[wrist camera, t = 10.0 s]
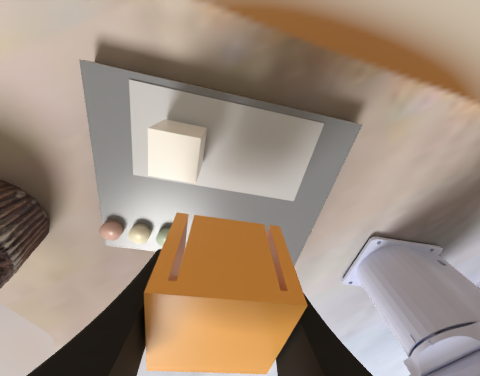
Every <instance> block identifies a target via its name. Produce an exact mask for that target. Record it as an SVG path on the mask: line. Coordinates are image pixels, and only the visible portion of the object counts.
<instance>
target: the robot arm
mask: <svg viewBox="0 0 480 376" xmlns="http://www.w3.org/2000/svg"><path fill="white" fill-rule="evenodd" d="M161 250H162V249H158V250H157V251H156V252H155V254H154V255H153V257H152V258H151V259H150V260H149V262H148V263H147V264H146V265H145V267H144V268H143V269H142V270H141V272H140V273H139V274H138V275H137V276H136V277H135V278H134V280H133V281H132V282H131V283H130V284H129V285H128V286H127V287H126V288H125V289H124V290H123V291H122V293H121V294H120V295H119V296H118V297H117V298H116V299H115V300H114V301H113V302H112V303H111V304H110V305H109V306H108V307H107V308H106V309H105V310H104V311H103V312H102V313H101V314H100V315H98V316H97V317H96V318H95V319H94V320H93V321H92V322H91V323H90V324H89V325H88V326H86V327H85V328H84V329H83V330H82V331H81V332H80V333H78V334H77V335H76V336H75V337H74V338H73V339H72V340H70V341H69V342H68V343H67V344H66V345H65V346H63V347H62V348H61V349H60V350H58V351H57V352H56V353H55V354H54V355H52V356H51V357H50V358H49V359H47V360H46V361H45V362H43V363H42V364H41V365H40V366H38V367H37V368H36V369H35V370H33V371H32V372H31V373H30V374H28V375H27V376H137V372H138V369H139V365H140V362H141V359H142V355H143V352H144V349H145V346H146V336H145V310H144V291H145V289H146V286H147V284H148V281H149V279H150V276H151V274H152V272H153V269H154V267H155V264H156V262H157V259H158V257H159V254H160V252H161ZM442 251H443V248H441V247H440V246H435V245H429V244H422V243H415V242H409V241H402V240H395V239H388V238H382V237H371V238H370V239H369V241H368V242H367V244H366V245H365V247H364V248H363V250H362V251H361V253H360V254H359V256H358V257H357V259H356V260H355V261H354V263H353V264H352V266H351V267H350V269H349V270H348V272H347V273H346V275H345V276H344V278H343V279H342V282H343V284H345V285H354V286H363V288H364V289H365V291H366V292H367V294H368V295H369V297H370V298H371V300H372V301H373V303H374V305H375V306H376V308H377V309H378V311H379V312H380V314H381V315H382V317H383V318H384V320H385V321H386V323H387V325H388V326H389V328H390V329H391V331H392V332H393V334H394V335H395V337H396V338H397V340H398V341H399V343H400V344H401V346H402V348H403V349H404V351H405V352H406V354H407V355H408V357H409V358H408V359H407V360H405V361H404V364H405V366H406V367H407V369H408V370H409V372H410V375H409V376H480V289H479V288H478V287H477V286H476V285H474V284H473V283H472V282H471V281H470V280H468V279H467V278H466V277H465V276H463V275H462V274H461V273H460V272H459V271H457V270H456V269H455V268H454V267H453V266H451V265H450V264H449V263H448V262H446V261H445V260H444V259H443V258H442V257H440V256H439V254H440V253H441V252H442ZM303 294H304V293H303ZM304 297H305V300H306V302H307V305H308V306H307V308H306V309H305V311H304V313H303V314H302V316H301V318H300V319H299V321H298V323H297V324H296V326H295V328H294V329H293V331H292V333H291V334H290V336H289V338H288V339H287V341H286V343H285V344H284V346H283V348H282V349H281V351H280V353H279V354H278V356H277V358H276V363H277V372H278V376H373V375H372V374H371V373H370V372H369V371H368V370H367V369H366V368H365V367H364V366H363V365H362V364H361V363H360V362H359V361H358V360H357V359H356V358H355V357H354V356H353V355H352V353H351V352H350V351H349V350H348V349H347V348H346V347H345V346H344V345H343V344H342V342H341V341H340V340H339V339H338V338H337V337H336V335H335V334H334V333H333V332H332V331H331V329H330V328H329V327H328V326H327V325H326V323H325V322H324V321H323V319H322V318H321V317H320V315H319V314H318V313H317V311H316V310H315V309H314V307H313V306H312V305H311V303H310V302H309V300H308V299H307V297H306V296H305V294H304Z"/></svg>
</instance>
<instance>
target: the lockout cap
mask: <svg viewBox="0 0 480 376" xmlns="http://www.w3.org/2000/svg"><path fill="white" fill-rule="evenodd" d="M188 215H189V214H185V213H178V212H177V213H176V216H175V218H174V220H173V223H172V225H171V228H170V230H169V233H168V235H167V237H166V240H165V242H164V245H163V247H162V250H161V252H160V254H159V257H158V259H157V262H156V264H155V267H154V269H153V272H152V274H151V276H150V279H149V281H148V284H147V286H146V289H145V291H144V310H145V336H146V362H147V371H178V372H213V373H248V374H267V373H268V371H269V369H270V368H271V366H272V364H273V363H274V361H275V359H276V358H277V356H278V354H279V353H280V351H281V349H282V348H283V346H284V344H285V343H286V341H287V339H288V338H289V336H290V334H291V333H292V331H293V329H294V328H295V326H296V324H297V323H298V321H299V319H300V318H301V316H302V314H303V313H304V311H305V309H306V308H307V306H308V305H307V302H306V300H305V297H304V294H303V291H302V288H301V285H300V282H299V280H298V277H297V274H296V271H295V268H294V265H293V262H292V260H291V257H290V254H289V251H288V248H287V245H286V242H285V240H284V237H283V234H282V231H281V228H280V226H274V225H269V228H268V231H267V233H266V229H265V225H264V224H259V223H252V222H244V221H237V220H229V219H222V218H215V217H207V216H200V215H194V218H193V222H192V225H191V229H190V233H189V237H188V240H187V244H186V235H187V225H188ZM185 245H186V248H185Z"/></svg>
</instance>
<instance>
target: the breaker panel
mask: <svg viewBox="0 0 480 376" xmlns="http://www.w3.org/2000/svg"><path fill="white" fill-rule="evenodd" d="M79 60H80V59H79ZM80 67H81V74H82V81H83V88H84V95H85V102H86V109H87V117H88V124H89V131H90V138H91V145H92V152H93V159H94V166H95V173H96V180H97V188H98V195H99V202H100V209H101V216H102V223H103V225H102V226H101V227H100V229H99V233H100V235H101V236H102V237H103V238H105V244H106V246H115V247H123V248H132V249H140V250H149V251H157V250H158V249H162V247H163V245H164V242H165V240H166V237H167V235H168V233H169V230H170V228H171V225H172V223H173V220H174V218H175V216H176V213H177V212H178V213H185V214H189V215H188V225H187V235H186V244H187V240H188V237H189V233H190V229H191V225H192V222H193V218H194V215H200V216H207V217H215V218H222V219H229V220H237V221H244V222H252V223H259V224H264V225H265V229H266V233H267V231H268V228H269V225H274V226H280V228H281V231H282V234H283V237H284V240H285V242H286V245H287V248H288V251H289V254H290V257H291V260H292V262H293V265H294V266H295V264H296V262H297V259H298V257H299V255H300V253H301V251H302V249H303V247H304V245H305V243H306V241H307V239H308V237H309V235H310V232H311V230H312V228H313V226H314V224H315V222H316V220H317V218H318V216H319V214H320V212H321V210H322V208H323V206H324V203H325V201H326V199H327V197H328V195H329V193H330V191H331V189H332V187H333V185H334V183H335V181H336V179H337V176H338V174H339V172H340V170H341V168H342V166H343V164H344V162H345V160H346V158H347V156H348V154H349V152H350V150H351V147H352V145H353V143H354V141H355V139H356V137H357V135H358V133H359V131H360V129H361V127H362V124H358V123H355V122H352V121H348V120H343V119H339V118H335V117H330V116H326V115H322V114H317V113H313V112H309V111H304V110H300V109H296V108H291V107H287V106H283V105H278V104H274V103H270V102H265V101H261V100H257V99H252V98H248V97H244V96H239V95H235V94H231V93H227V92H222V91H218V90H214V89H209V88H205V87H201V86H196V85H192V84H188V83H183V82H179V81H175V80H170V79H166V78H162V77H157V76H153V75H149V74H144V73H140V72H136V71H131V70H127V69H123V68H118V67H114V66H110V65H106V64H101V63H97V62H92V61H86V60H80ZM164 119H167V120H171V121H176V122H181V123H186V124H191V125H196V126H201V127H206V128H207V132H206V140H205V147H204V155H203V163H202V167H201V170H200V173H199V176H198V179H197V181H196V184H195V183H189V182H183V181H177V180H171V179H165V178H159V177H153V176H148V128H149V127H151V126H153V125H154V124H156V123H158V122H160V121H162V120H164ZM185 248H186V245H185Z"/></svg>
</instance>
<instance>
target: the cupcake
mask: <svg viewBox="0 0 480 376" xmlns="http://www.w3.org/2000/svg"><path fill="white" fill-rule="evenodd" d="M49 224H50V223H49V220H48V218H47V215H46V213H45V211H44V210H43V208H42V207H41V206H40V205H39V204H38V202H37V201H36V200H35V199H34V198H32V197H30V196H29V195H28V194H27V193H25V192H24V191H23V190H21V189H20V188H18V187H16V186H14V185H11V184H8V183H6V182H4V181H1V180H0V288H2V286H3V285H4V284H5V283H6V282H8V281H9V280H10V278H11V277H12V276H13V275H14V274H15V273H16V272H17V271H18V270H19V268H20V267H21V266H22V264H23V263H24V262H25V261H26V259H27V258H28V257H29V256H30V255H31V253H32V252H33V251H34V250H35V249H36V248H37V247H38V245H39V244H40V243H41V242H42V241H43V239H44V238H45V237H46V236H47V234H48V232H49Z"/></svg>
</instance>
